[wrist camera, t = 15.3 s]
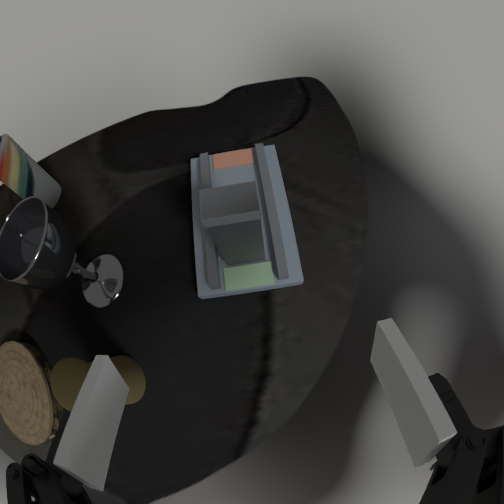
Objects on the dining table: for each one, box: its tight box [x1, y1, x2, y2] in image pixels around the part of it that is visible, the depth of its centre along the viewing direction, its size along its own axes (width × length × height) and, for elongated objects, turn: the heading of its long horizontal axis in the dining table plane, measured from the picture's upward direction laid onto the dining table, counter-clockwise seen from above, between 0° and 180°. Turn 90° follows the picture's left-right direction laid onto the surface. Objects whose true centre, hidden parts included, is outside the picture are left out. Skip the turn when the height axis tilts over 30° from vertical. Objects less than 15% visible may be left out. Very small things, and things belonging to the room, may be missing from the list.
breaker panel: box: [191, 143, 304, 299], centre depth 32 cm, size 18×11×3 cm, turn 8°
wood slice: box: [0, 341, 63, 445], centre depth 26 cm, size 16×16×3 cm
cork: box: [50, 355, 146, 411], centre depth 23 cm, size 6×6×11 cm
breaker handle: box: [199, 181, 266, 266], centre depth 25 cm, size 2×4×11 cm, turn 98°
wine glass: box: [0, 196, 124, 308], centre depth 25 cm, size 8×8×15 cm
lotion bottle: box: [0, 134, 61, 208], centre depth 28 cm, size 6×6×20 cm
